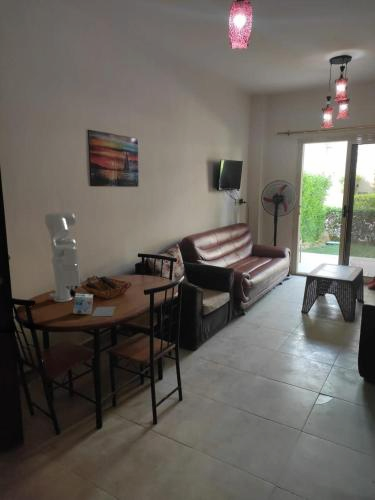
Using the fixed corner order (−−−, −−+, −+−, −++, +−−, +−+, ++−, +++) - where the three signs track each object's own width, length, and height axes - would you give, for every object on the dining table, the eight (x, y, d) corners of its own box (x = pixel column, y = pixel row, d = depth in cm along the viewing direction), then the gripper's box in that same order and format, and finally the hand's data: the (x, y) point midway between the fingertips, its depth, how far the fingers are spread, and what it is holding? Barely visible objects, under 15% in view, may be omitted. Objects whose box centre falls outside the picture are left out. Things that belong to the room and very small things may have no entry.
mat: (91, 316, 211) (91, 316, 211) (96, 307, 227) (96, 307, 227) (111, 316, 212) (111, 315, 212) (115, 307, 228) (115, 306, 228)
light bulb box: (72, 313, 213) (74, 296, 211) (73, 309, 219) (75, 293, 218) (91, 314, 216) (92, 297, 214) (91, 310, 222) (93, 294, 220)
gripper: (56, 268, 208) (58, 298, 211) (82, 268, 209) (83, 298, 212) (60, 265, 215) (62, 294, 219) (85, 265, 216) (86, 294, 219)
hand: (72, 296), depth 215 cm, fingers closed
